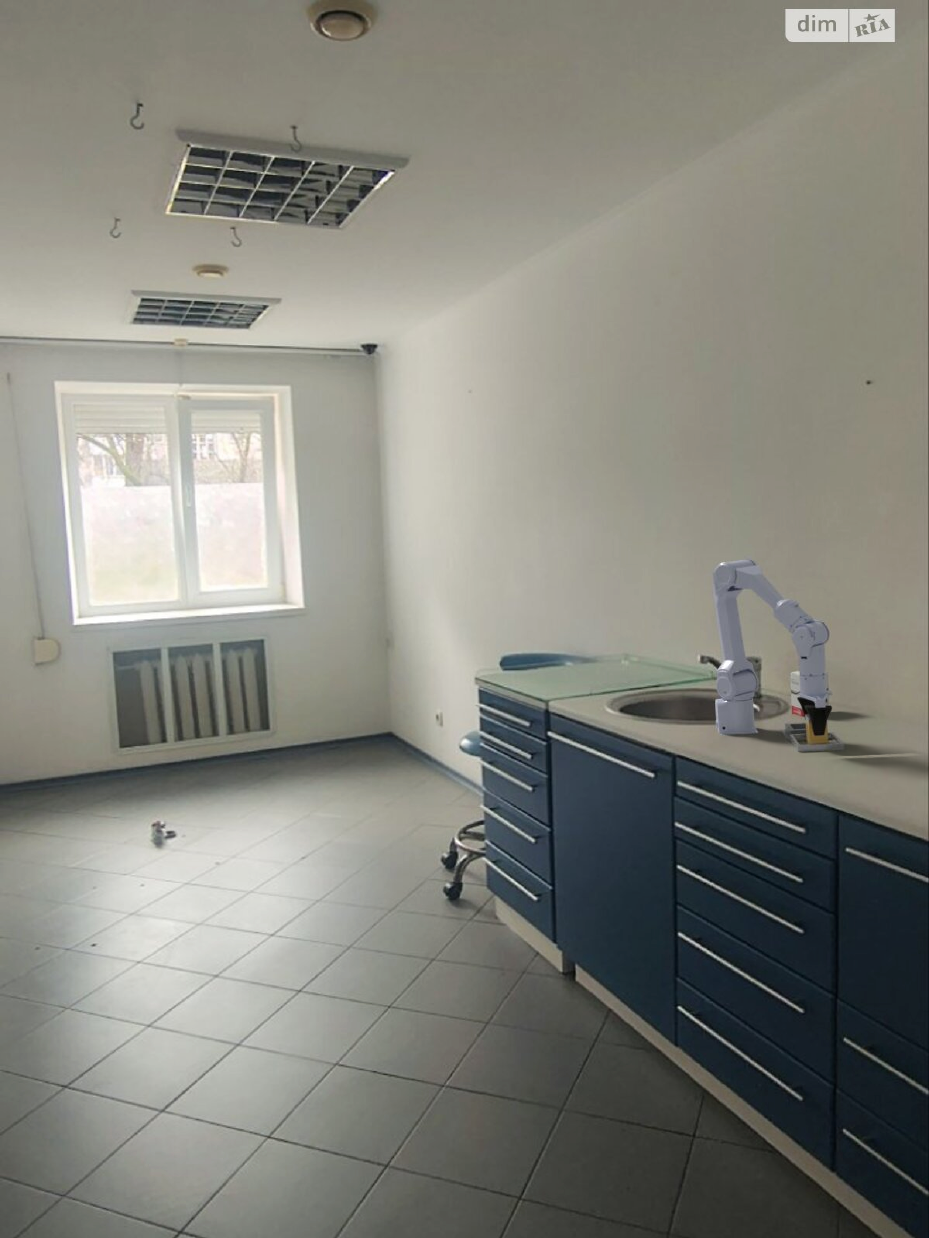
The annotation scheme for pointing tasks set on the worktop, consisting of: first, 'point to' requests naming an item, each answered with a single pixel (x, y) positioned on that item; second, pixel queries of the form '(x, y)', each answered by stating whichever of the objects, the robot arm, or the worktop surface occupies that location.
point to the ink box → (796, 693)
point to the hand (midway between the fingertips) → (815, 730)
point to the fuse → (810, 735)
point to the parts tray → (816, 747)
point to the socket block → (794, 729)
